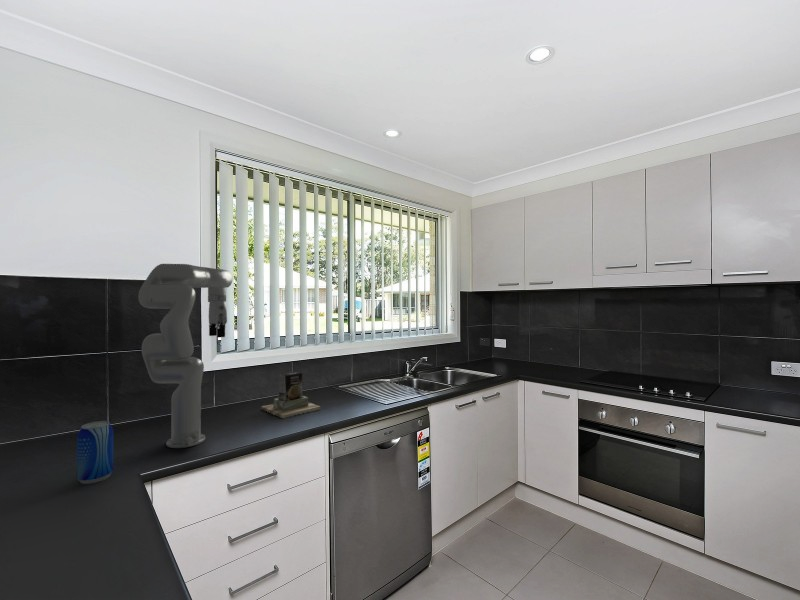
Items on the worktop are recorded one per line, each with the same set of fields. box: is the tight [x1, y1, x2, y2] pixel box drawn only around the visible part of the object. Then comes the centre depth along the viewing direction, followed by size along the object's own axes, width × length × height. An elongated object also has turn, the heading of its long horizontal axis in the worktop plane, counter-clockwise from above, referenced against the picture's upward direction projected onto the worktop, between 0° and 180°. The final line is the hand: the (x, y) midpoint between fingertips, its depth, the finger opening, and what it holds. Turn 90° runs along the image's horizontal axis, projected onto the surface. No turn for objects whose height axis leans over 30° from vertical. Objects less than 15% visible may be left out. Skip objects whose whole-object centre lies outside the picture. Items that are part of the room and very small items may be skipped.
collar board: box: [261, 395, 321, 419], centre depth 182 cm, size 20×20×6 cm
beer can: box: [76, 420, 114, 485], centre depth 112 cm, size 8×8×16 cm
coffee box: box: [278, 371, 303, 402], centre depth 182 cm, size 9×6×16 cm
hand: (217, 336), depth 172 cm, fingers open, 9 cm apart
